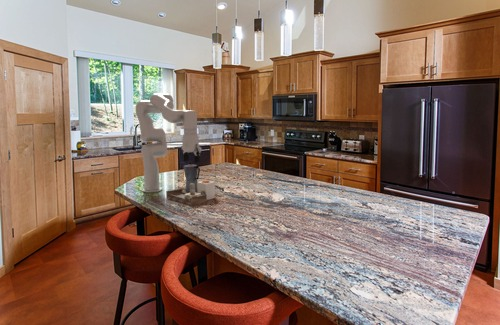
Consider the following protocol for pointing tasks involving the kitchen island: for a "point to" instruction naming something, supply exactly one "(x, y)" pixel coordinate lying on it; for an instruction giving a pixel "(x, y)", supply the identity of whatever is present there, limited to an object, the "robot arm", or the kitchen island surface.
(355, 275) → the kitchen island surface
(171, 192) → the rail bed
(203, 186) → the white knob block
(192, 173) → the moka pot
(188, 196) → the square knob plate
